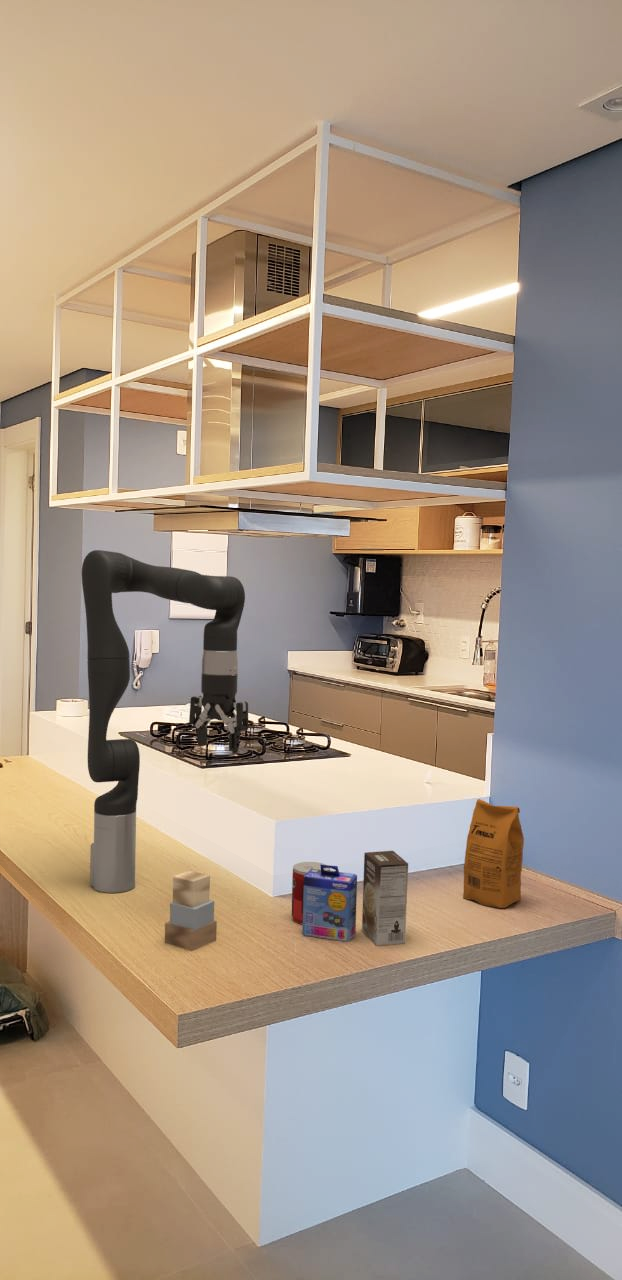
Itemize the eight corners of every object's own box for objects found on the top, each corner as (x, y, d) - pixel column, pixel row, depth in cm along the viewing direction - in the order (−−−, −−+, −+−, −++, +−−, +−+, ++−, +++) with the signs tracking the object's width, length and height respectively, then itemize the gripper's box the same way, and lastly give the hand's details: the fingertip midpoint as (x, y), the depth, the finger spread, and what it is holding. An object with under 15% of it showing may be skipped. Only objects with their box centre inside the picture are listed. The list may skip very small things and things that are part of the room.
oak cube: (172, 902, 191) (173, 876, 190) (189, 895, 195) (190, 870, 195) (192, 907, 188) (193, 881, 188) (209, 900, 192) (210, 875, 192)
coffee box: (360, 929, 201) (362, 851, 200) (390, 927, 203) (392, 849, 202) (376, 946, 192) (378, 864, 191) (407, 943, 194) (409, 862, 193)
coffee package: (481, 888, 230) (485, 794, 228) (527, 902, 221) (531, 804, 220) (454, 897, 223) (458, 800, 222) (501, 912, 214) (505, 811, 213)
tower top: (169, 923, 190) (170, 903, 190) (189, 915, 196) (189, 895, 195) (194, 930, 187) (195, 909, 187) (213, 921, 192) (214, 901, 192)
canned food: (307, 910, 212) (308, 859, 211) (336, 919, 207) (338, 867, 206) (283, 919, 206) (284, 866, 205) (313, 928, 201) (314, 875, 200)
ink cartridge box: (300, 936, 196) (302, 863, 195) (308, 927, 202) (310, 856, 201) (349, 942, 194) (351, 869, 193) (356, 933, 199) (358, 861, 198)
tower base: (164, 943, 191) (164, 923, 191) (188, 933, 197) (189, 913, 197) (192, 952, 187) (192, 931, 187) (216, 941, 193) (216, 921, 193)
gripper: (182, 670, 210) (180, 746, 211) (234, 675, 202) (232, 754, 203) (205, 667, 216) (204, 742, 217) (257, 673, 208) (255, 750, 209)
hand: (217, 748), depth 210 cm, fingers open, 8 cm apart
